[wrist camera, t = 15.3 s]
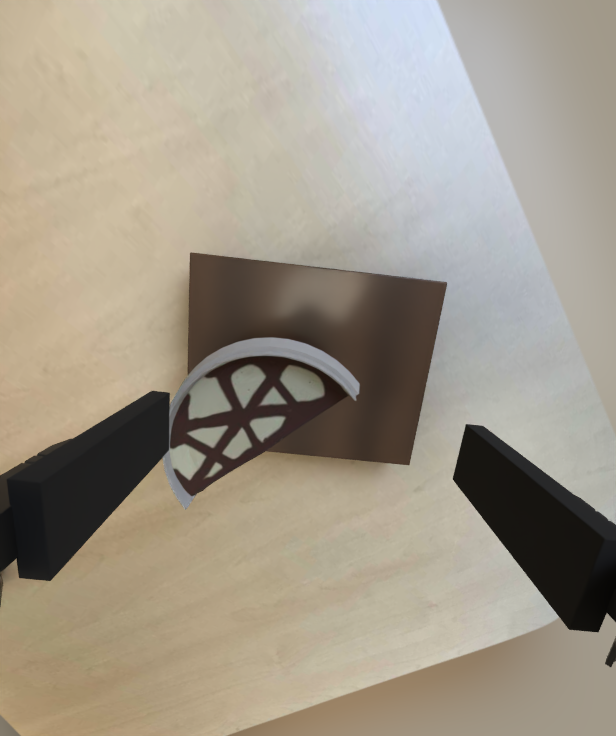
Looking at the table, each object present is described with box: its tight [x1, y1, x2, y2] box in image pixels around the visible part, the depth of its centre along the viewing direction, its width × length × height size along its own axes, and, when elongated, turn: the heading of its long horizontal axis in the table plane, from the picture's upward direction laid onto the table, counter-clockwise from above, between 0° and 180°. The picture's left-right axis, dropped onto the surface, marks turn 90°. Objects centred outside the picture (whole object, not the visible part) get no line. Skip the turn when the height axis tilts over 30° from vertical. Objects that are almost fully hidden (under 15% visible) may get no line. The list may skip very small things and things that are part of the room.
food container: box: [162, 337, 360, 510], centre depth 21 cm, size 12×6×10 cm, turn 125°
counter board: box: [188, 253, 447, 465], centre depth 27 cm, size 20×16×3 cm
